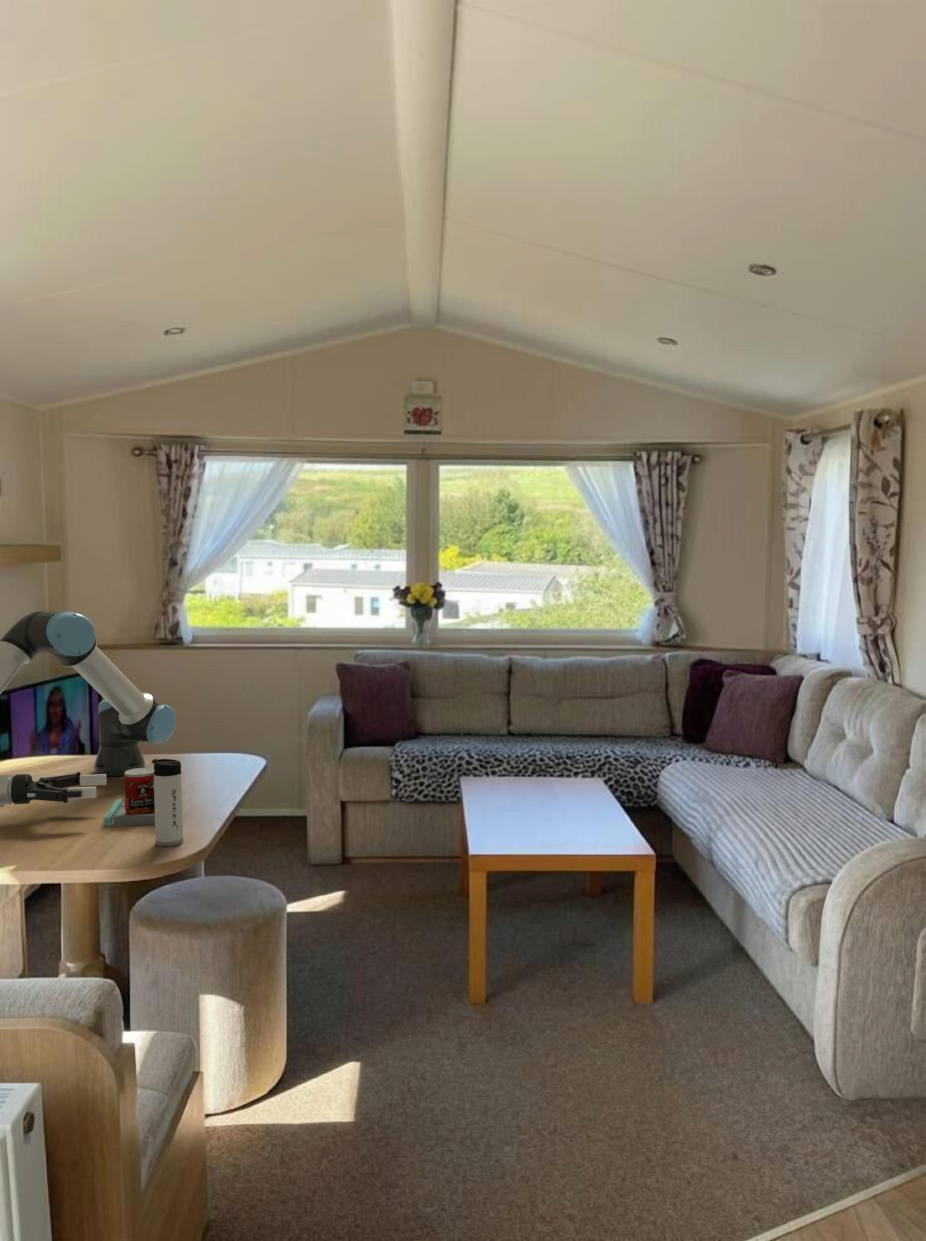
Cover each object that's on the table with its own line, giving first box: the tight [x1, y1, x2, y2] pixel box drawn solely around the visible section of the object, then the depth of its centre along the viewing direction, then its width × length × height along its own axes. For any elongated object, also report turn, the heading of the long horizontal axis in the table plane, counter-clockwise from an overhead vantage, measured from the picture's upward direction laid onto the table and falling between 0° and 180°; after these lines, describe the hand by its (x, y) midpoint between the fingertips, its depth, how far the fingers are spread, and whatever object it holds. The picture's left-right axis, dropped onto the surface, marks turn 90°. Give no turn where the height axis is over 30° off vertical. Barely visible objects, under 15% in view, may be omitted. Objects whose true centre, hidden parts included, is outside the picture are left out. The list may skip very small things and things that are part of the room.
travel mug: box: [151, 758, 184, 847], centre depth 226 cm, size 6×7×20 cm
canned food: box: [123, 767, 155, 815], centre depth 250 cm, size 8×8×11 cm
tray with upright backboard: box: [103, 798, 155, 827], centre depth 250 cm, size 18×15×10 cm
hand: (101, 785), depth 248 cm, fingers open, 13 cm apart
